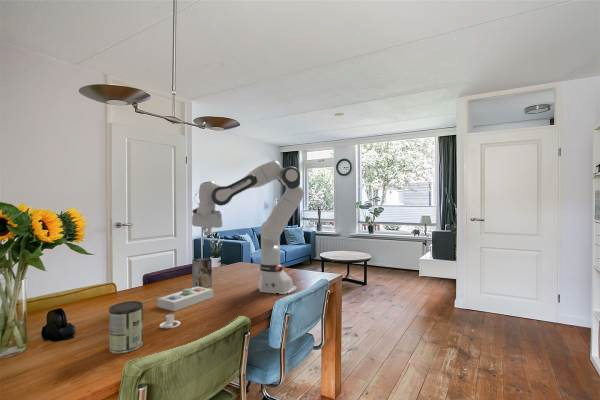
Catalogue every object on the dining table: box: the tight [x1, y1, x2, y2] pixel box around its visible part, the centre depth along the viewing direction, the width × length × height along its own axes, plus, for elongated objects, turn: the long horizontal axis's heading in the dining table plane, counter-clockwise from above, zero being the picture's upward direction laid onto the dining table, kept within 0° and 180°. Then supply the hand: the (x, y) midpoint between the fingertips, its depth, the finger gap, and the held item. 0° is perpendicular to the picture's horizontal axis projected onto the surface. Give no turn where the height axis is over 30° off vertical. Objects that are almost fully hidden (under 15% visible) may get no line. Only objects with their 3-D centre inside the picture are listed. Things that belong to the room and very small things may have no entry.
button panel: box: [157, 286, 214, 312], centre depth 155 cm, size 24×12×4 cm, turn 150°
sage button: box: [181, 288, 191, 296], centre depth 155 cm, size 4×4×3 cm
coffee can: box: [108, 300, 144, 354], centre depth 108 cm, size 10×10×14 cm
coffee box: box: [191, 257, 213, 288], centre depth 182 cm, size 9×6×16 cm
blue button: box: [169, 296, 179, 300], centre depth 148 cm, size 4×4×3 cm
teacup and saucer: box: [159, 313, 182, 329], centre depth 126 cm, size 9×8×4 cm
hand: (207, 235), depth 174 cm, fingers closed
